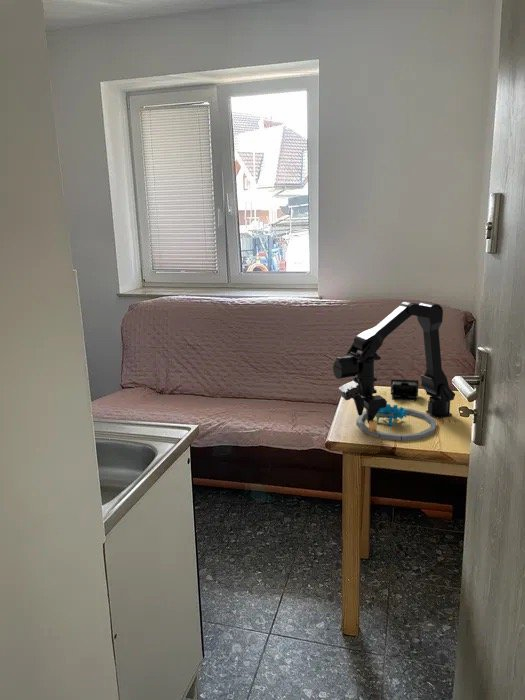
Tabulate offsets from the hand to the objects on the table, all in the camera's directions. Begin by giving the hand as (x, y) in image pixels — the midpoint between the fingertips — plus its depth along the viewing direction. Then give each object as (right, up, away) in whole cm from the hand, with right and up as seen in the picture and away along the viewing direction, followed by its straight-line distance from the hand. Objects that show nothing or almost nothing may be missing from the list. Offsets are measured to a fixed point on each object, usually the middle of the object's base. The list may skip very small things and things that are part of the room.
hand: (364, 419), depth 176 cm
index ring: (+11, -2, +3) cm, 11 cm away
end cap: (+20, +4, +29) cm, 36 cm away
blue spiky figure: (+9, -2, +5) cm, 11 cm away
